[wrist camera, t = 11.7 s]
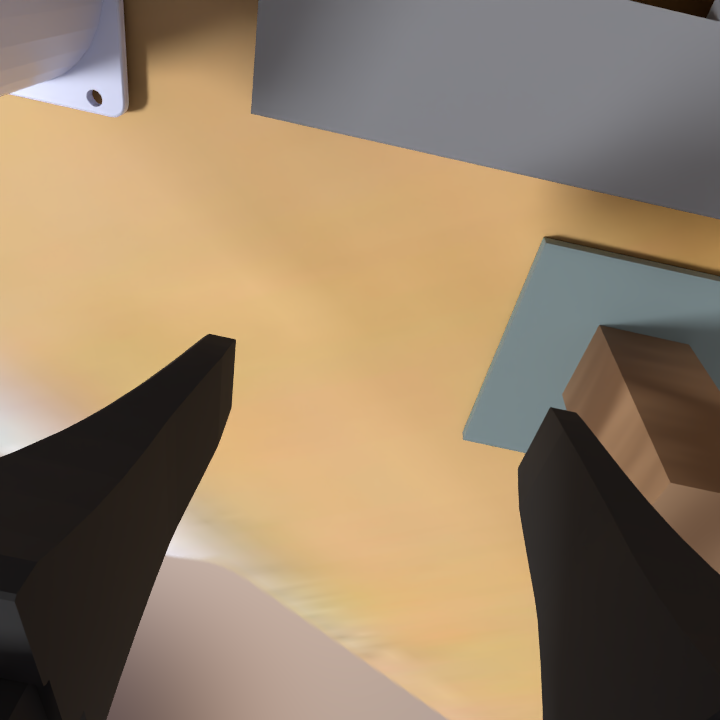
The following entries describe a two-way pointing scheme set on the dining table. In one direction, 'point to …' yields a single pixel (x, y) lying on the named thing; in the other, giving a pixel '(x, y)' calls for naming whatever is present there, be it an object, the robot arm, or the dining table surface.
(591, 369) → the tall wooden block
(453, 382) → the dining table surface
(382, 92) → the grey flat block
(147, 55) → the dining table surface
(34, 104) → the dining table surface
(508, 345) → the mat
